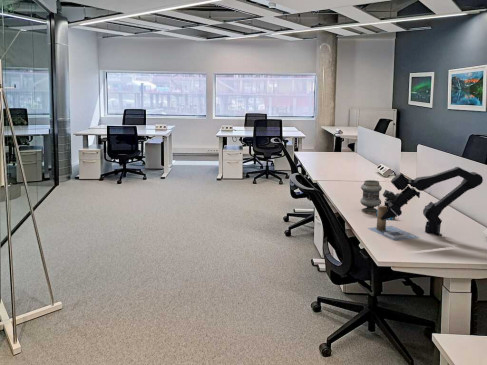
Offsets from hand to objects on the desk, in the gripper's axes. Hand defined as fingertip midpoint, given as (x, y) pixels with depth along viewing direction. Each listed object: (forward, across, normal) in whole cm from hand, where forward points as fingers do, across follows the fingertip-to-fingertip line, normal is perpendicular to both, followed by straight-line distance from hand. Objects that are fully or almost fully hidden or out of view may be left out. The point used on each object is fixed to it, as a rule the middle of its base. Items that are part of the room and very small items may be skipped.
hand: (380, 217), depth 245 cm
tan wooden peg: (+4, 0, +5) cm, 6 cm away
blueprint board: (+1, +5, +9) cm, 11 cm away
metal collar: (0, +12, +9) cm, 15 cm away
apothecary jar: (+5, -44, +6) cm, 44 cm away
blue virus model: (+1, -24, +10) cm, 26 cm away
